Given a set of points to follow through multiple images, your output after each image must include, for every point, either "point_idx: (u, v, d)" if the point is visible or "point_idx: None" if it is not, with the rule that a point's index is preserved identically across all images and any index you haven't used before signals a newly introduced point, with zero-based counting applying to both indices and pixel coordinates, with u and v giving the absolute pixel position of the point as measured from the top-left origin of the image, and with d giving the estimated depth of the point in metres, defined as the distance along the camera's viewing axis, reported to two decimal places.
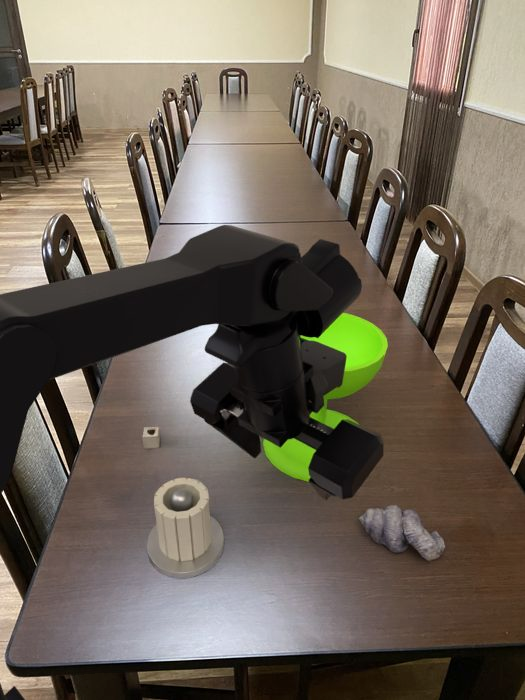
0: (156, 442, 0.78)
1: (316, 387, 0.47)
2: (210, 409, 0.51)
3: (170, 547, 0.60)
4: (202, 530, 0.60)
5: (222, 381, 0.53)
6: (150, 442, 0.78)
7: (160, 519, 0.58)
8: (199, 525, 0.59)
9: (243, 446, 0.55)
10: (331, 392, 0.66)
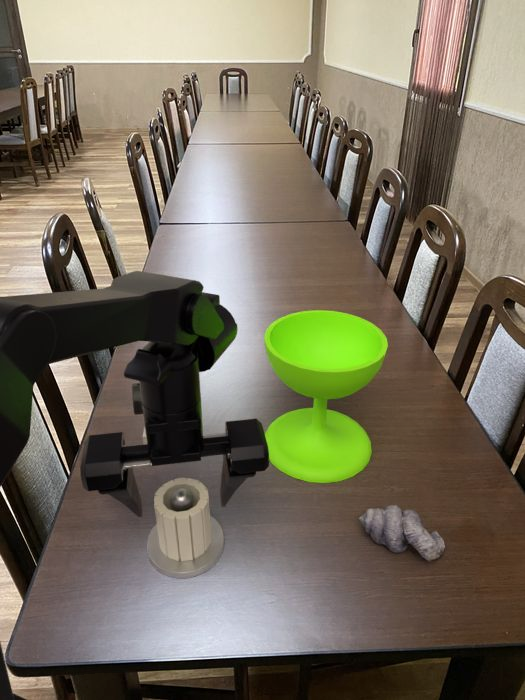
0: None
1: None
2: (113, 471, 0.52)
3: (170, 547, 0.60)
4: (202, 530, 0.60)
5: (105, 446, 0.54)
6: None
7: (160, 519, 0.58)
8: (199, 525, 0.59)
9: (137, 504, 0.57)
10: (331, 392, 0.66)
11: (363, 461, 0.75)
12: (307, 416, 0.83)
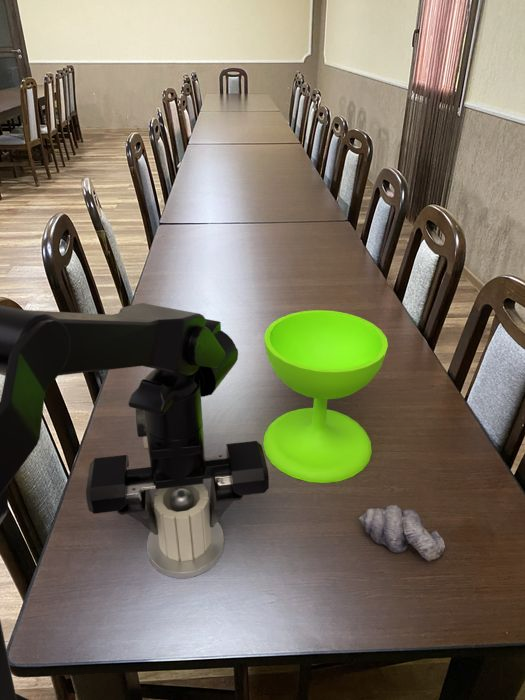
0: None
1: None
2: (118, 494, 0.54)
3: (170, 547, 0.60)
4: (202, 530, 0.60)
5: (109, 469, 0.56)
6: None
7: (160, 519, 0.58)
8: (199, 525, 0.59)
9: (153, 522, 0.59)
10: (331, 392, 0.66)
11: (363, 461, 0.75)
12: (307, 416, 0.83)
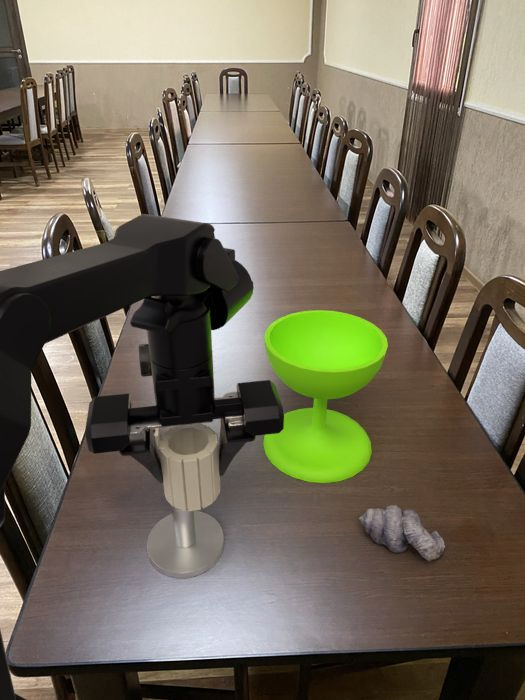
0: (156, 442, 0.78)
1: None
2: (120, 432, 0.49)
3: (176, 495, 0.55)
4: (211, 476, 0.55)
5: (111, 407, 0.51)
6: None
7: (166, 463, 0.54)
8: (208, 470, 0.54)
9: (159, 468, 0.54)
10: (331, 392, 0.66)
11: (363, 461, 0.75)
12: (307, 416, 0.83)
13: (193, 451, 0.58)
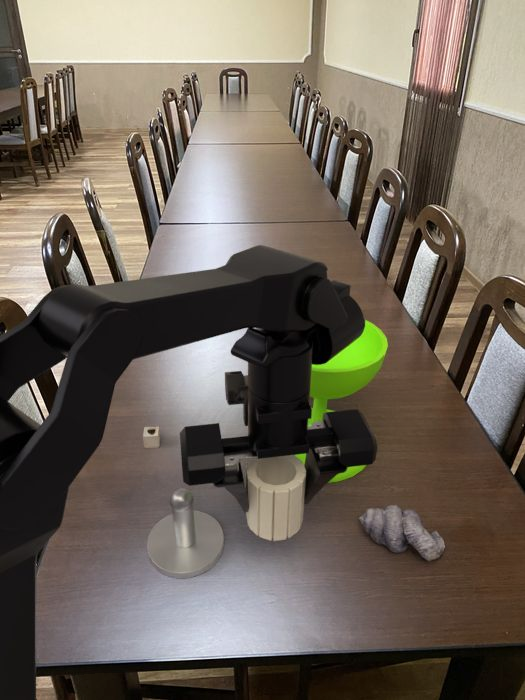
0: (156, 442, 0.78)
1: None
2: (217, 464, 0.49)
3: (263, 525, 0.55)
4: (298, 506, 0.55)
5: (204, 438, 0.51)
6: (150, 442, 0.78)
7: (256, 493, 0.53)
8: (297, 500, 0.54)
9: (247, 498, 0.54)
10: (331, 392, 0.66)
11: None
12: None
13: (275, 479, 0.58)
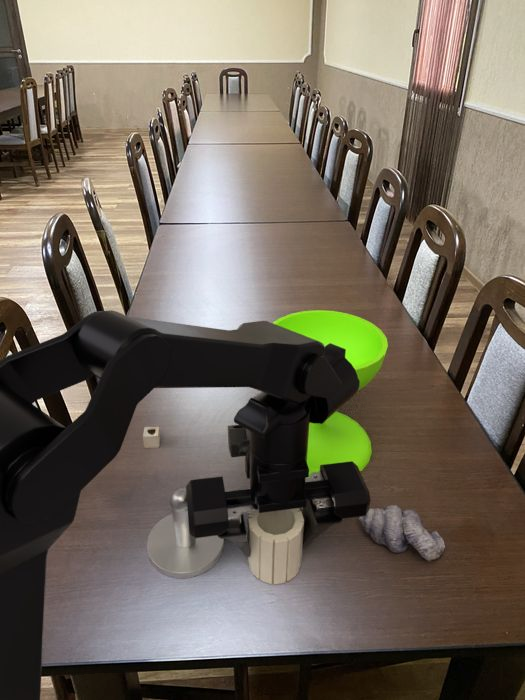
0: (156, 442, 0.78)
1: None
2: (221, 518, 0.53)
3: (264, 570, 0.58)
4: (297, 553, 0.58)
5: (209, 492, 0.55)
6: (150, 442, 0.78)
7: (257, 542, 0.57)
8: (295, 548, 0.57)
9: None
10: None
11: (363, 461, 0.75)
12: None
13: (275, 524, 0.62)
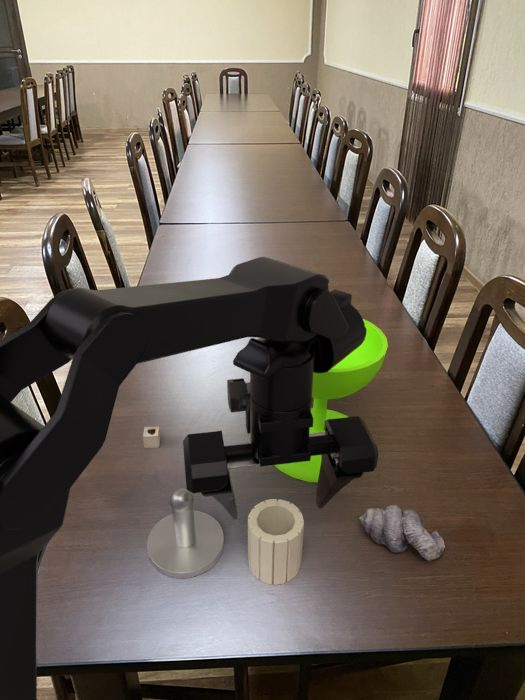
0: (156, 442, 0.78)
1: None
2: (220, 472, 0.49)
3: (264, 571, 0.58)
4: (297, 553, 0.58)
5: (207, 446, 0.51)
6: (150, 442, 0.78)
7: (257, 542, 0.57)
8: (295, 549, 0.57)
9: (236, 506, 0.54)
10: (331, 392, 0.66)
11: None
12: None
13: (275, 525, 0.62)
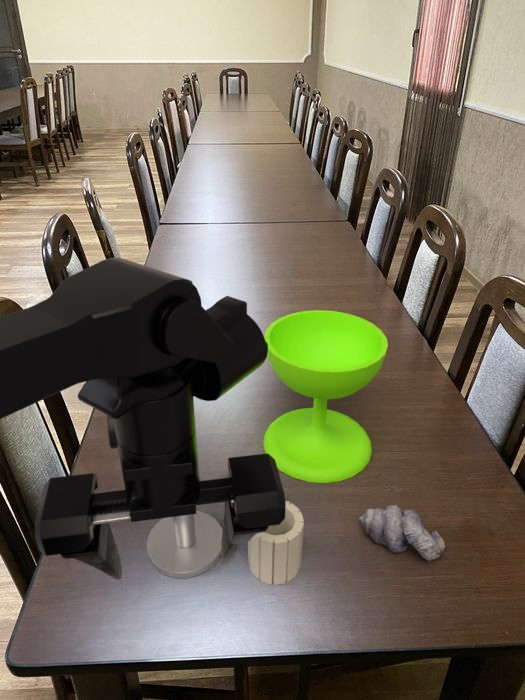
0: None
1: None
2: (79, 530, 0.39)
3: (264, 571, 0.58)
4: (297, 553, 0.58)
5: (69, 494, 0.41)
6: None
7: (257, 542, 0.57)
8: (295, 549, 0.57)
9: (113, 566, 0.44)
10: (331, 392, 0.66)
11: (363, 461, 0.75)
12: (307, 416, 0.83)
13: (275, 525, 0.62)
